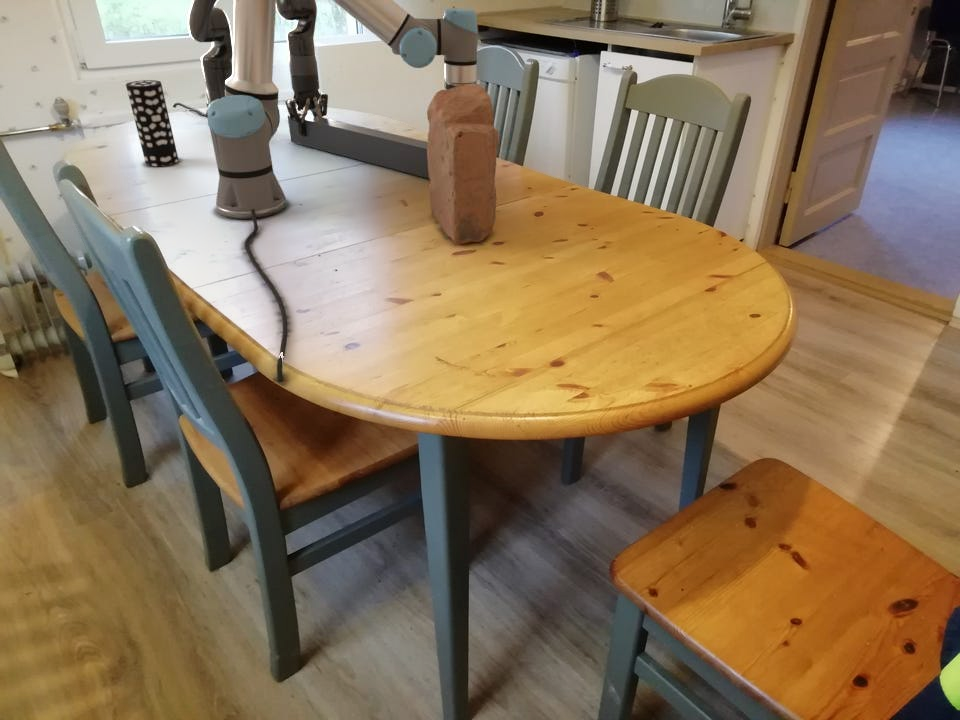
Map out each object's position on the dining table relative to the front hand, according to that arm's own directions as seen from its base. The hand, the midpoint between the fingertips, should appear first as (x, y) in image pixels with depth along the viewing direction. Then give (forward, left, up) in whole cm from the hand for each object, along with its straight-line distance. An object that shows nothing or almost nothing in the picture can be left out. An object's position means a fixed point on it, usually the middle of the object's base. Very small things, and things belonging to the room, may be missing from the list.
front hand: (459, 180), depth 173 cm
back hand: (+51, +22, +2) cm, 55 cm away
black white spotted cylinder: (+53, +63, +9) cm, 83 cm away
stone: (-25, +12, -1) cm, 28 cm away
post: (+25, +11, -1) cm, 28 cm away
